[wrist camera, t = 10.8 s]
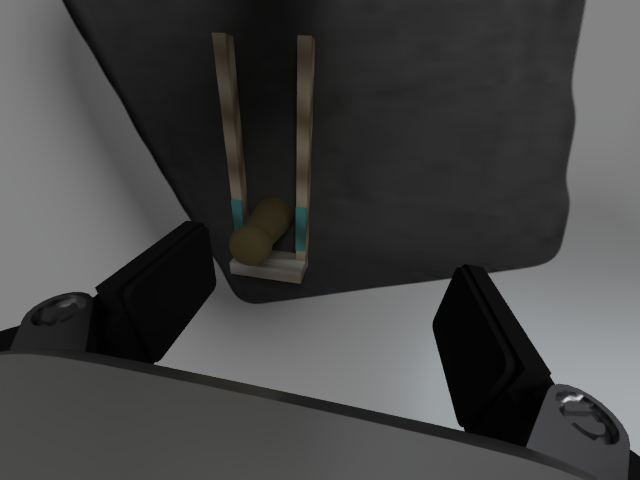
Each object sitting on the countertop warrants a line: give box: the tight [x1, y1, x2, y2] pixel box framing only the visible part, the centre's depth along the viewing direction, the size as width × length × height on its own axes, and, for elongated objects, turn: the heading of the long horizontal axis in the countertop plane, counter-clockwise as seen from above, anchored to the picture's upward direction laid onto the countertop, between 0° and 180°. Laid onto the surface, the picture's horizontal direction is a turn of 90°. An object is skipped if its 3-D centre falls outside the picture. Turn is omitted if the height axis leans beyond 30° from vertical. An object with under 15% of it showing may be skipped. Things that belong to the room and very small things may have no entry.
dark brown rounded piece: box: [229, 196, 294, 266], centre depth 35 cm, size 6×6×11 cm
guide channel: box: [212, 33, 315, 284], centre depth 35 cm, size 30×11×5 cm, turn 177°
